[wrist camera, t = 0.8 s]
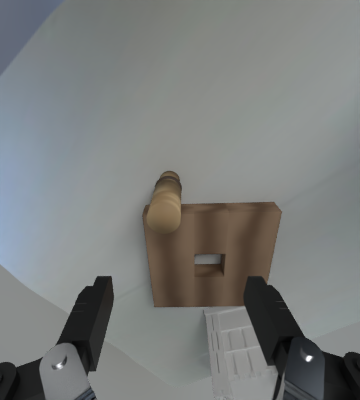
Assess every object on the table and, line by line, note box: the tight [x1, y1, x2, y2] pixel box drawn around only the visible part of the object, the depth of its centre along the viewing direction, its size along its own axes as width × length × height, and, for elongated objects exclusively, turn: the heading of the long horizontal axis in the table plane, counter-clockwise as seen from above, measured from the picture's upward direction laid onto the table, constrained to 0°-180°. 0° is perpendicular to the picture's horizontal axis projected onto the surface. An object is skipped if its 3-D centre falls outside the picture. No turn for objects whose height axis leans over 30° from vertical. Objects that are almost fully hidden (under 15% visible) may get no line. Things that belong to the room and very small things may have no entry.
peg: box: [147, 171, 182, 234], centre depth 27 cm, size 4×4×11 cm
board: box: [143, 202, 282, 307], centre depth 36 cm, size 20×20×3 cm
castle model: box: [204, 306, 278, 400], centre depth 40 cm, size 13×15×14 cm
